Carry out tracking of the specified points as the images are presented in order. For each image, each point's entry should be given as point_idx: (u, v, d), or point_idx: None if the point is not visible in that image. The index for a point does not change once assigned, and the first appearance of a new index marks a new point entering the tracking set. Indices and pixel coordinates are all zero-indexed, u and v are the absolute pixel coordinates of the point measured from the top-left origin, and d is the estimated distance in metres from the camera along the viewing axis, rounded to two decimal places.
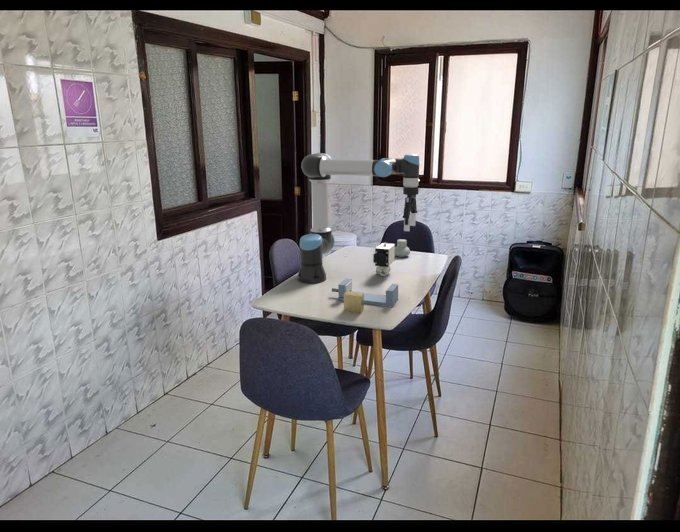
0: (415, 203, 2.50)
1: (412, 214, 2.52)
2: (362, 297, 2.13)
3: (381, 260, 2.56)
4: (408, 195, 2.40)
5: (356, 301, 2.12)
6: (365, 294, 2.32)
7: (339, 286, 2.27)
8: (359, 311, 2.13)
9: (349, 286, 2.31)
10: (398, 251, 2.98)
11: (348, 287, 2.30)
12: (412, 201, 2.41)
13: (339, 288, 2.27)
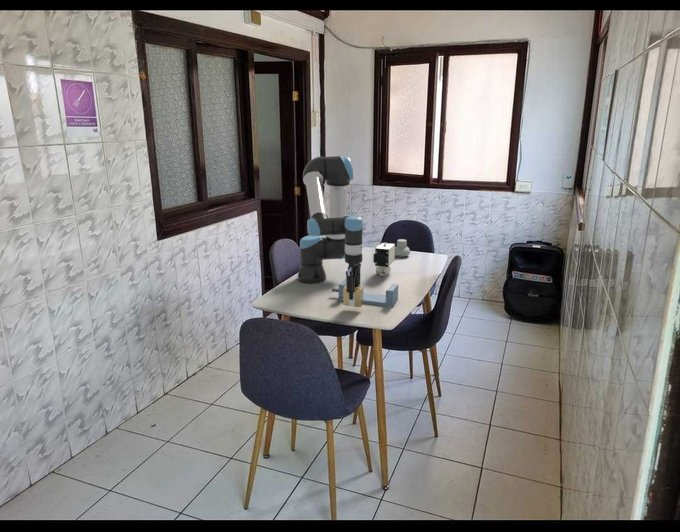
0: (359, 274, 2.16)
1: None
2: (362, 291, 2.13)
3: (381, 260, 2.56)
4: (350, 264, 2.07)
5: (356, 295, 2.12)
6: (365, 294, 2.32)
7: (339, 286, 2.27)
8: (358, 305, 2.13)
9: None
10: (398, 251, 2.98)
11: None
12: (355, 272, 2.09)
13: (339, 288, 2.27)
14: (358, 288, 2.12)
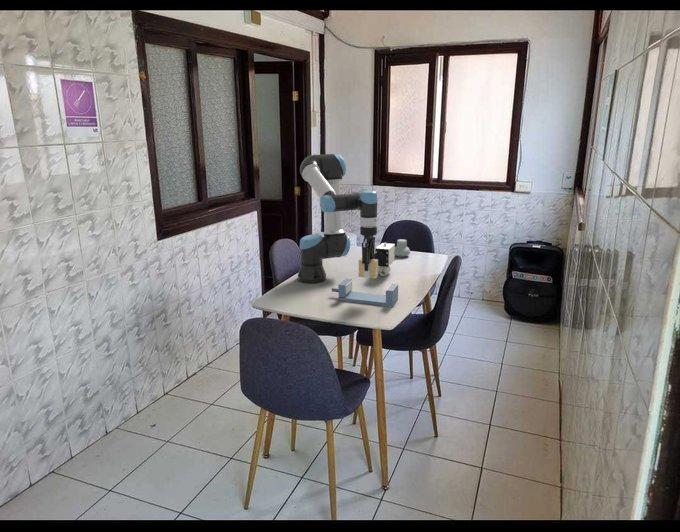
0: (373, 247, 2.26)
1: None
2: (376, 263, 2.22)
3: (381, 260, 2.56)
4: (365, 236, 2.17)
5: (371, 266, 2.22)
6: (365, 294, 2.32)
7: (339, 286, 2.27)
8: (373, 276, 2.22)
9: (349, 286, 2.31)
10: (398, 251, 2.98)
11: (348, 287, 2.30)
12: (370, 243, 2.19)
13: (339, 288, 2.27)
14: (373, 260, 2.22)
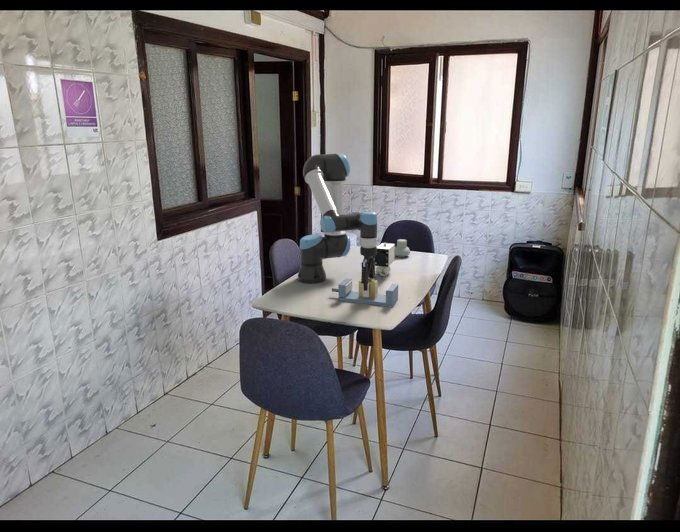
0: (374, 265, 2.29)
1: (370, 279, 2.29)
2: (376, 284, 2.25)
3: (381, 260, 2.56)
4: (365, 256, 2.19)
5: (370, 287, 2.24)
6: None
7: (339, 286, 2.27)
8: (373, 297, 2.25)
9: (349, 286, 2.31)
10: (398, 251, 2.98)
11: (348, 287, 2.30)
12: (370, 263, 2.21)
13: (339, 288, 2.27)
14: (373, 281, 2.25)
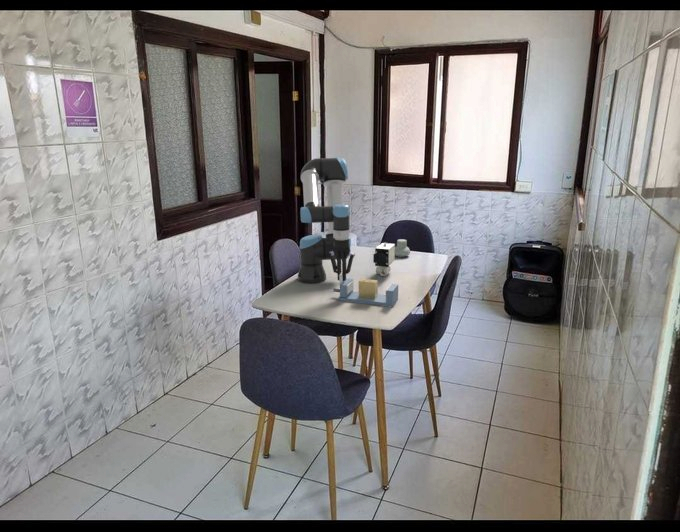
0: (348, 263, 2.26)
1: None
2: (376, 284, 2.25)
3: (381, 260, 2.56)
4: None
5: (370, 287, 2.24)
6: None
7: (340, 286, 2.26)
8: (373, 297, 2.25)
9: (350, 286, 2.30)
10: (398, 251, 2.98)
11: (350, 288, 2.30)
12: (336, 255, 2.27)
13: (340, 288, 2.27)
14: (373, 281, 2.25)
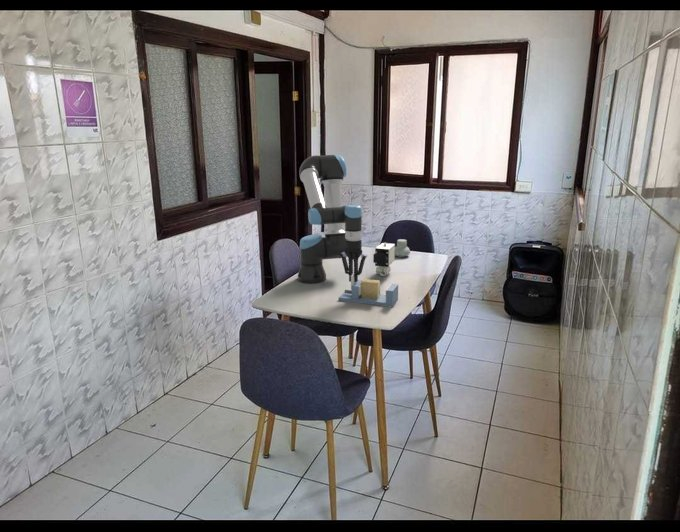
0: None
1: None
2: (378, 284, 2.25)
3: (381, 260, 2.56)
4: None
5: (373, 288, 2.24)
6: None
7: (352, 287, 2.24)
8: (376, 297, 2.25)
9: None
10: (398, 251, 2.98)
11: None
12: (348, 256, 2.25)
13: (352, 289, 2.25)
14: (375, 281, 2.25)
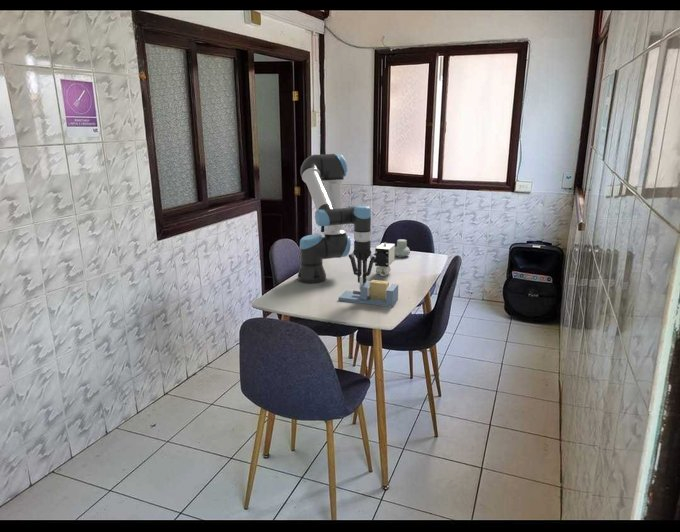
0: None
1: None
2: (387, 285, 2.23)
3: (381, 260, 2.56)
4: None
5: (382, 289, 2.23)
6: None
7: (361, 288, 2.23)
8: (384, 298, 2.23)
9: None
10: (398, 251, 2.98)
11: None
12: (357, 257, 2.23)
13: (361, 290, 2.23)
14: (384, 282, 2.23)
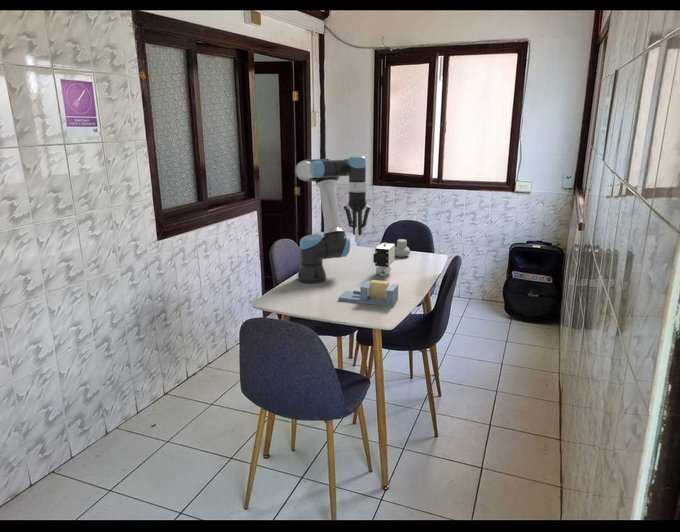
0: (364, 216, 2.23)
1: None
2: (387, 285, 2.23)
3: (381, 260, 2.56)
4: None
5: (382, 289, 2.23)
6: None
7: (361, 288, 2.23)
8: (385, 298, 2.23)
9: None
10: (398, 251, 2.98)
11: None
12: (352, 208, 2.23)
13: (361, 290, 2.23)
14: (384, 282, 2.23)
